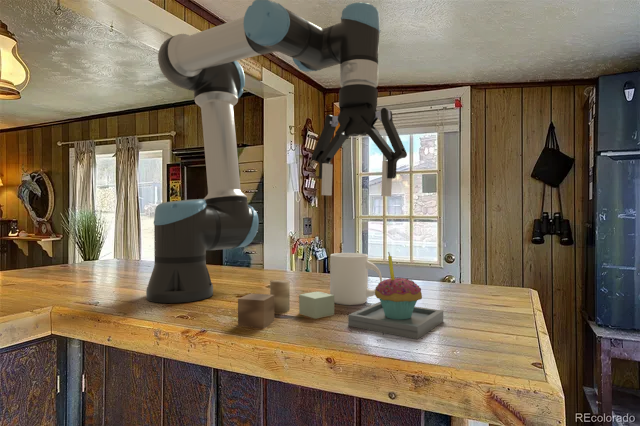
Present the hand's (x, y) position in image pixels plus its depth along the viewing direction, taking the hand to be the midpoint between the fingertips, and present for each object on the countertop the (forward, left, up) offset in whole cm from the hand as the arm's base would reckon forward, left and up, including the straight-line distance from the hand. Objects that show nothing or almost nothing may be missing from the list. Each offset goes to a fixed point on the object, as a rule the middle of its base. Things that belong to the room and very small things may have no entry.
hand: (355, 196), depth 79 cm
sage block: (-7, -4, -24) cm, 25 cm away
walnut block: (-12, -16, -24) cm, 31 cm away
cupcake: (+9, 0, -23) cm, 24 cm away
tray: (+9, -1, -24) cm, 25 cm away
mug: (-6, +10, -24) cm, 27 cm away
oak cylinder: (-15, -6, -24) cm, 28 cm away
